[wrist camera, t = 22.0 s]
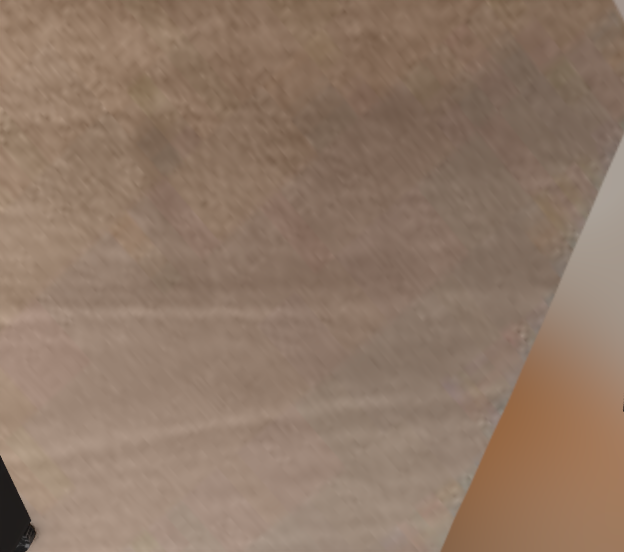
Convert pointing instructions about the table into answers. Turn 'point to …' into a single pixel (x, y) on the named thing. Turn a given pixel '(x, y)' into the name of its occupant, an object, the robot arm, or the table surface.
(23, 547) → the phone
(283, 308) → the table surface
